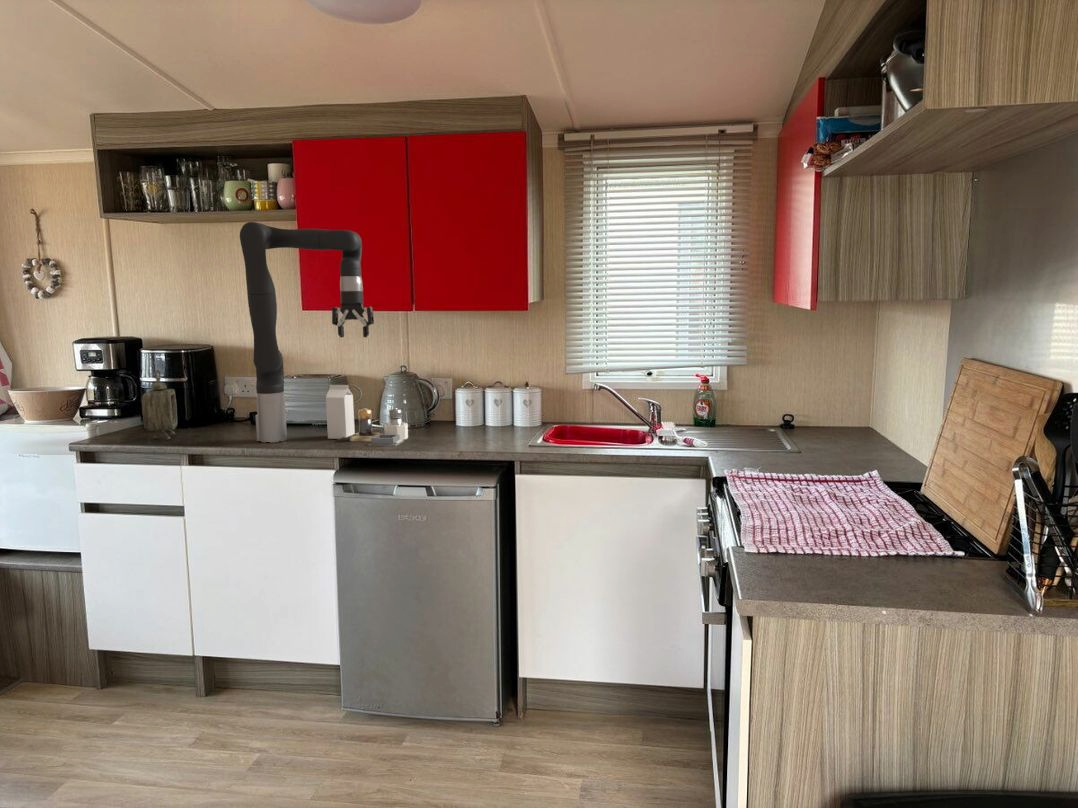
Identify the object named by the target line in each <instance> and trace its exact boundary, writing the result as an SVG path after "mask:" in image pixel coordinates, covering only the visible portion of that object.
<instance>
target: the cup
mask: <svg viewBox="0 0 1078 808" xmlns="http://www.w3.org/2000/svg"><path fill="white" fill-rule="evenodd" d="M383 426H384V434H399V435H400V440H404V441H405V440H407V439H408V438H409V430H408V428H409V426H408V423H407V422H403V421H402V425H397V426H390V423H389V422H388V423H384V425H383Z"/></svg>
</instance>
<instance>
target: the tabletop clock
mask: <svg viewBox="0 0 1078 808" xmlns="http://www.w3.org/2000/svg"><path fill="white" fill-rule="evenodd" d="M155 381H156V382H155V383H152V385H151V387H150V389H149V390H148V391H146V392H145V393H143V394H142V396H141V408H142V421H143V427H144V429H145V430H148V431H150V432H155V434H154V435H153V438H154V437H158V438H159V435H158V433H159V431H161V432H162V433H163V435H164V436H165V438H164V440H166V439H170V440H171V437H170V436H168V433H167V431H169V434H170V435H171V434H175V435H176V432H175V431H174V430H176V428H177V427H178V408H177V407H178V405H177V397H176V390H175V388H168V387H167V385H166V384H165V383H163V382H161V371H160V370H159V369H157V370H155Z"/></svg>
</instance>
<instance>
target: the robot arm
mask: <svg viewBox="0 0 1078 808" xmlns="http://www.w3.org/2000/svg"><path fill="white" fill-rule="evenodd" d="M362 241H363V240H362V238H361V236H360V234H358V233H357V232H355V231H354V230H353V231H352V230H348V229H331V230H330V229H324V228H323V229H321V228H300V229H299V228H296V229H289V228H288V229H286V228H280V227H279V228H277V227H275V226H269V225H266V224H263V223H260V222H257V221H256V222H255V221H248V222H246V223H244V224H243V225H242V227H241V229H240V231H239V242H240V247H241V250H242V255H243V261H244V268H245V269H244V270H245V281H246V294H247V295H246V296H247V302H248V303H247V304H248V312H249V317H250V322H251V328H252V332H253V365H254V366H255V373H256V378H255V379H256V383H255V389H256V407H257V414H255V430H256V442H257V441H261V443H266V442H270V443H278V442H279V441H281V442H284V441H286V440H288V433H287V431H288V430H287V418H286V415H287V414H286V401H285V397H286V396H285V371H284V358H283V355H282V354H283V353H282V352H281V350H279V346H278V339H277V319H278V318H277V316H278V308H277V307H278V304H277V294H276V288H275V285H274V284H275V283H274V281H273V278H272V275H271V273H270V269H269V268H268V264H267V250H271V249H272V250H273V249H279V248H280V249H282V248H284V249H285V248H288V249H299V250H309V251H311V250H312V251H341V252H342V254H341V260H340V262H339V273H340V280H339V289H340V291H339V292H340V307H337V306H333V307H332V308H331V317H332V318H331V324H332V325H333V326H337V335H338V336H339V338H344V337H345V329H344V325H345V324H346V322H347V321H350V320H354V321H355V320H358V321H359V322H360V323H361V324H362V325H363V326H362V336H363V338H368V336H369V334H370V330H369V329H370V328H369V327H370V326H372V325H375V318H374V317H375V316H374V310H373V306H367V307H364V306H365V305H364V287H363V279H362V266H361V263H362V262H361V261H362V252H363V244H362V243H363V242H362ZM340 312H341V314H342V315H341V317H340V318H339V314H340ZM364 312H365V314H366V315H367V318H366V317H365V315H364ZM279 443H280V442H279Z"/></svg>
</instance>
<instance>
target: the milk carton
mask: <svg viewBox="0 0 1078 808" xmlns="http://www.w3.org/2000/svg"><path fill="white" fill-rule="evenodd" d="M325 407H326V409H325V411H326V425H327V426H326V427H327V428H326V429H327V439H330V440H333V439H334V440H335V439H336V440H340V439H342V438H348V437H350V436H351V435H353V434H355V432H356V430H355V414H354V411H355V409H354V394H353V393H352V391H351V390H350V387H349V385H348V384H329V388H328V391H327V393H326V396H325Z"/></svg>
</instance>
